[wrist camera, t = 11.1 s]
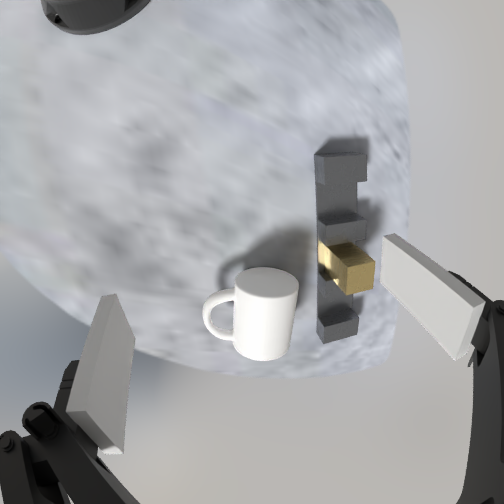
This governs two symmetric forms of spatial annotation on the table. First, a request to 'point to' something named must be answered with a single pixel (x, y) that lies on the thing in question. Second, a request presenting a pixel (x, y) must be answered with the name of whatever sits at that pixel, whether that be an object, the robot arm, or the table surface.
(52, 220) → the table surface
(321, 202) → the rail
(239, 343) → the mug
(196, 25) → the table surface
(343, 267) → the block
